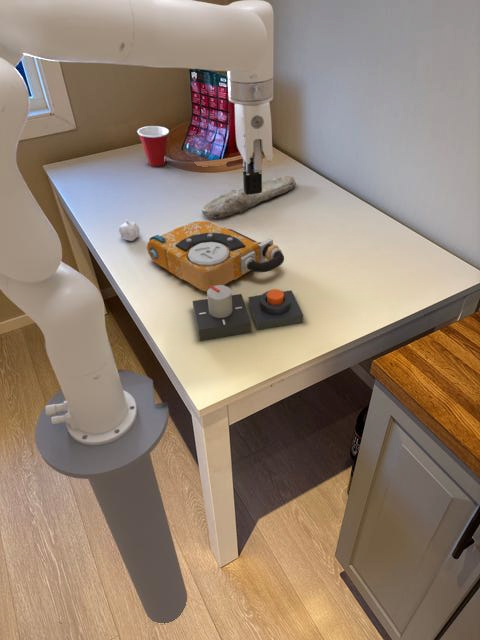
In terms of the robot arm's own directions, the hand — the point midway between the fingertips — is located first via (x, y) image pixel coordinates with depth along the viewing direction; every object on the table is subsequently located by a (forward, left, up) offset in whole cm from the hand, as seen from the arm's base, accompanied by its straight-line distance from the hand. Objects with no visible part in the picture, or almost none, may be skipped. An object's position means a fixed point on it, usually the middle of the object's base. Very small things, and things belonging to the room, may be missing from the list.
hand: (252, 191), depth 93 cm
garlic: (-27, +37, -27) cm, 53 cm away
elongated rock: (+10, +50, -27) cm, 58 cm away
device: (-6, +17, -27) cm, 33 cm away
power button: (+3, -4, -23) cm, 24 cm away
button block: (+3, -4, -27) cm, 28 cm away
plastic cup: (-16, +88, -27) cm, 94 cm away
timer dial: (-8, -5, -24) cm, 26 cm away
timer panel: (-9, -4, -27) cm, 29 cm away
